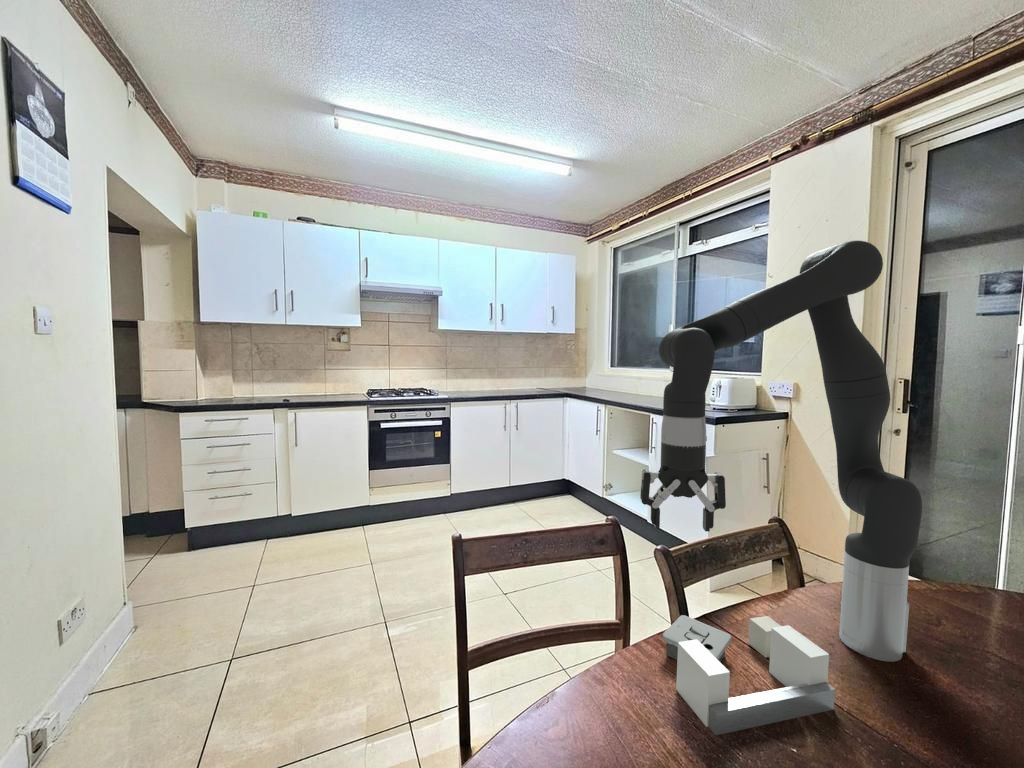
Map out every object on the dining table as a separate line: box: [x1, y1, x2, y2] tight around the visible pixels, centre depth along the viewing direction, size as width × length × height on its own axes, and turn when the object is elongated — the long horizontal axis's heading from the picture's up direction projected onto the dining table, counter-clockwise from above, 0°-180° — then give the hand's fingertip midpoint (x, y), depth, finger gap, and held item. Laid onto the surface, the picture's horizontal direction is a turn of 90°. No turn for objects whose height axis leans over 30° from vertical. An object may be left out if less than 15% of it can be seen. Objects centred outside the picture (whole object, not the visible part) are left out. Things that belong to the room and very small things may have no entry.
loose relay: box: [748, 615, 782, 658], centre depth 81 cm, size 4×4×5 cm
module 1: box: [675, 639, 731, 728], centre depth 67 cm, size 4×8×8 cm, turn 13°
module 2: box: [768, 624, 830, 687], centre depth 72 cm, size 4×8×8 cm, turn 13°
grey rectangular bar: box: [707, 681, 836, 736], centre depth 65 cm, size 21×2×4 cm, turn 103°
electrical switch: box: [661, 614, 732, 663], centre depth 79 cm, size 9×5×9 cm
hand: (681, 528), depth 80 cm, fingers open, 8 cm apart
